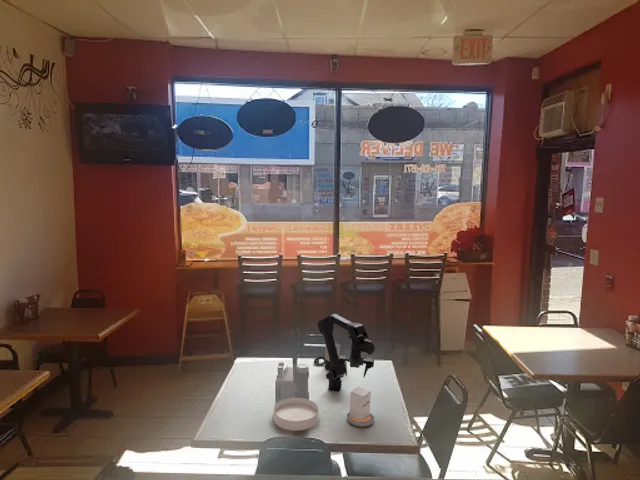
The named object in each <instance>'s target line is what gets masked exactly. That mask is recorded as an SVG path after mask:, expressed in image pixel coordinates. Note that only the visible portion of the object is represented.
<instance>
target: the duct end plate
mask: <svg viewBox="0 0 640 480" xmlns="http://www.w3.org/2000/svg"><path fill="white" fill-rule="evenodd" d="M349 414H350V411H348V413H347V414H346V422H347V423H348V425H350V426H352V427H355V428H359V429H366V428H369V427H371V426H373V425H374V424H375V423H374V422H375V417H374V415H373V414H372V413H371V412H370V415H368V416H367V417H366V418H364V419H363V420H362V421H361V420H358V419H356V418H354V417H351V416H349Z"/></svg>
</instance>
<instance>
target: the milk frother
mask: <svg viewBox="0 0 640 480" xmlns="http://www.w3.org/2000/svg"><path fill="white" fill-rule="evenodd" d="M335 346H336V349H337V353H338V357H339V355H341V354H340V352H341V351H340V350H341V349H340V348H341V344H339V343H338V342H335ZM320 360H323V362H320ZM319 362H320V363H319ZM313 363H314V365H315V366H320V367H321V366H324V369H325V370H326V371H327V372H330V371H329V365H330V358H329V354H328V350H327V347H326V344H325V356H317V357H316V358H315V359H314V360H313Z"/></svg>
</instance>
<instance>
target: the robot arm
mask: <svg viewBox="0 0 640 480" xmlns="http://www.w3.org/2000/svg"><path fill="white" fill-rule="evenodd" d="M334 325H337V326H338V327H341V328H342V329H344V330H346V331H347V334H349V336H348V339H350V356H349V357H347V355H342V354H339V357H338V353H337V349H336V346H335V343H336V342H335V338H334V335H333V333H334V328H335V327H334ZM317 328H318V330H319V333H321V335H322V336H323V338H324V342H325V345H326V346H325V348H326V347H327V350H328V354H329V358H330V365H329V371H327V373H326V374H325V377H326V379H327V380H328V387H327V390H328V391H330V392H331V391H332V392H340V390H341V389H342V387H343V386H342V385H343V384H342V383H343V381H342V378H344V376H346V377H347V376H348V363H349V367H350V368H356V369H359V368H360V366H363V365H364V364H365V366H364V372H363V378H365V377H366V374H367V372H368V370H369V369H372V368H374V367H375V358H371V357H366V359H364V358H363V357H362V355H363V353H365V354H367V355H373V354H374V352H375V349H376V347H375V345H374V343H373V340H369V336H368V335H369V334H368V332H367V331H366V329H365V326H364V325H363V324H362V323H359V322H352V321H350V320H348V319H346V318H344V317H343V316H340V315H339V314H338V313H333V314H329V315H328V316H326V317H325V318H323V319H320V320H318V322H317ZM362 352H363V353H362Z"/></svg>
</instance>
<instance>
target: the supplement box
mask: <svg viewBox="0 0 640 480" xmlns="http://www.w3.org/2000/svg"><path fill="white" fill-rule="evenodd" d="M371 393H372V391H371V390H369V389H366V388H364V387H360V386H357V387H356V388H354V389H353V390H351V391H350V397H349V412H350V414H349V416H351V417H354V418H356V419H358V420H361V421H362V420H363V419H364V418H366V417H367V416H368V415H370V413H371V412H370V411H371Z"/></svg>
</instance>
